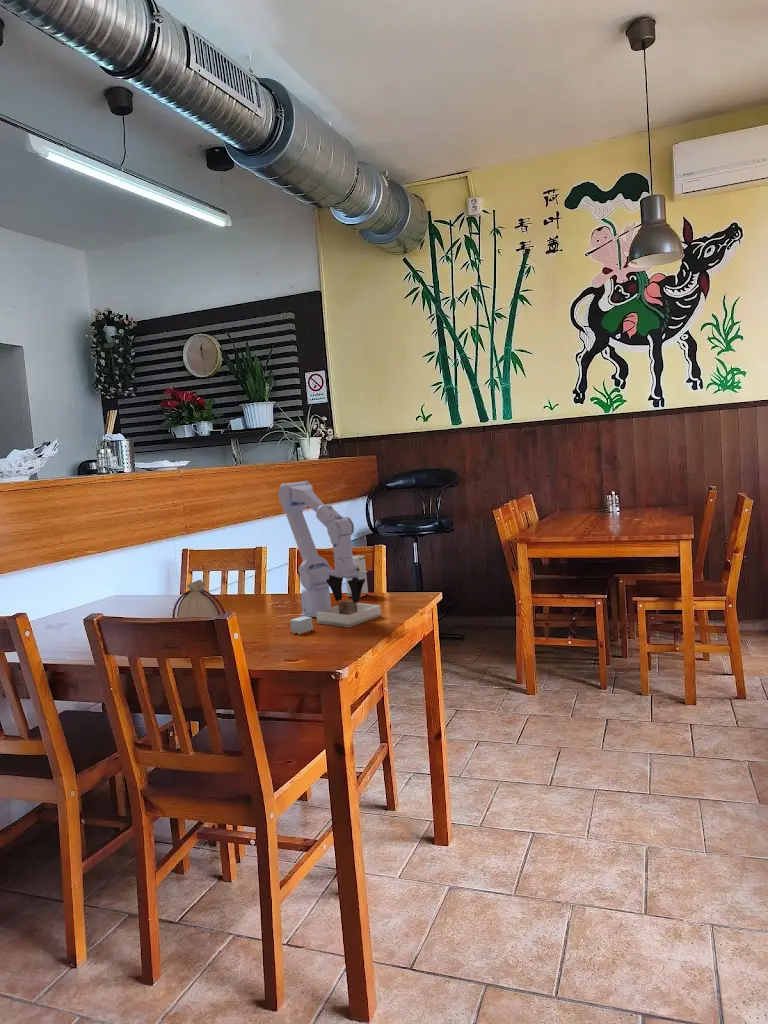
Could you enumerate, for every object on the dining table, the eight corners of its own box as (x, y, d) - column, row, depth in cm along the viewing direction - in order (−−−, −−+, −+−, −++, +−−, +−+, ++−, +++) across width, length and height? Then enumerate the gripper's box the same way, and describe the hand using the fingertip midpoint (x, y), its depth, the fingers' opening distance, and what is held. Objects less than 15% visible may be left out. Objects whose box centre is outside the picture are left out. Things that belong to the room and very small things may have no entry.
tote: (317, 623, 225) (316, 612, 224) (349, 613, 235) (348, 602, 235) (349, 627, 215) (348, 615, 215) (381, 616, 226) (380, 605, 225)
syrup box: (346, 598, 260) (342, 557, 259) (355, 594, 265) (351, 554, 264) (360, 598, 257) (356, 557, 256) (368, 594, 263) (365, 554, 261)
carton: (291, 633, 216) (289, 620, 215) (304, 629, 219) (302, 616, 219) (300, 634, 213) (298, 621, 213) (313, 630, 217) (311, 617, 216)
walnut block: (339, 617, 225) (338, 603, 225) (348, 614, 228) (347, 600, 228) (348, 618, 222) (347, 604, 222) (358, 615, 225) (356, 601, 225)
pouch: (248, 642, 209) (240, 576, 207) (234, 650, 201) (226, 582, 200) (172, 643, 217) (165, 579, 215) (156, 651, 209) (148, 585, 207)
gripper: (317, 559, 225) (321, 602, 227) (351, 560, 216) (355, 605, 217) (333, 555, 231) (337, 597, 232) (367, 556, 221) (371, 600, 222)
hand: (347, 601), depth 225 cm, fingers open, 7 cm apart
